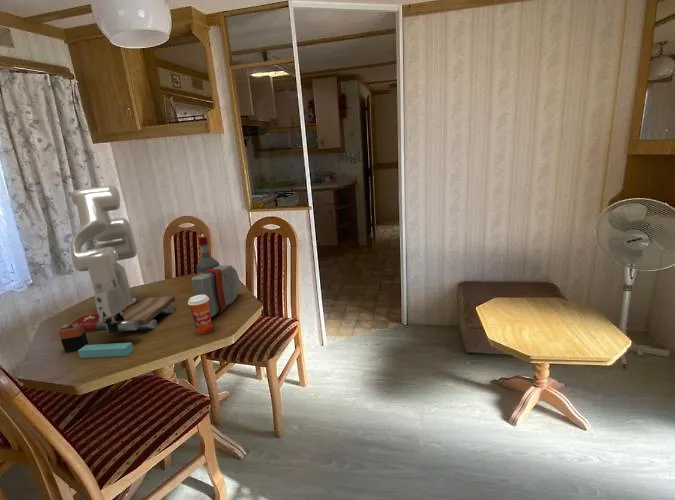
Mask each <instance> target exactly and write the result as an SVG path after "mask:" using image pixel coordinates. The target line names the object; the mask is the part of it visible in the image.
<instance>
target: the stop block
mask: <svg viewBox="0 0 675 500" xmlns="http://www.w3.org/2000/svg"><path fill="white" fill-rule="evenodd" d="M77 352H78V356H79V358H80V359H90V358H92V359H93V358H111V357H112V358H113V357H127V356H129V354H130V353H132V352H134V346H133V343H132V342H120V343H119V342H117V343H100V344H99V343H96V344H88V345H85V346H84V347H82V348H81V349H80V350H77Z"/></svg>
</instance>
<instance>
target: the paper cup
mask: <svg viewBox="0 0 675 500" xmlns="http://www.w3.org/2000/svg"><path fill="white" fill-rule="evenodd" d="M208 300H209V298H208V296H206V295H196V296H194V295H193V296H191V297H189V299H188V301H187V304H188V305H189V310H190V312H191V315H192V319H193V322H194V326H195V329H196V332H197V334H199V335H205V334H209V333H210V332H211V331H212V330H213V325H212V317H211V316H210V309H209V302H208Z"/></svg>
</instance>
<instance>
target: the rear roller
mask: <svg viewBox="0 0 675 500" xmlns="http://www.w3.org/2000/svg"><path fill="white" fill-rule="evenodd" d="M174 312H175V306H174V305H173V304H170V305H169V306H167V307H166V308H165V309H164V310H163V311H161V312H160V313H159V314H158V315H172V314H173V313H174Z"/></svg>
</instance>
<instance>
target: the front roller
mask: <svg viewBox="0 0 675 500" xmlns="http://www.w3.org/2000/svg"><path fill="white" fill-rule="evenodd" d="M157 326H158V321H157V320H156V319H152V320H150V321H149V322H148V323H147V324H145V325H139V327H138V329H137V330H136V331H140V330H156V328H157Z"/></svg>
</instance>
